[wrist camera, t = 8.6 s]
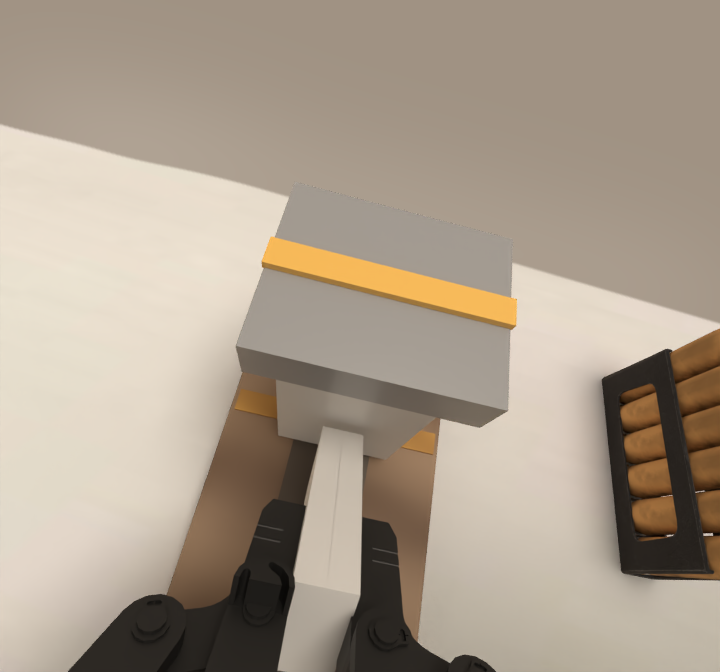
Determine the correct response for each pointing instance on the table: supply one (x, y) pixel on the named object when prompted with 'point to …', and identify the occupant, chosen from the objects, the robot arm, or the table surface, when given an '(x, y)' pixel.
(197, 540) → the fader console
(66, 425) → the table surface
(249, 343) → the fader tab
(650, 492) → the ammunition clip
